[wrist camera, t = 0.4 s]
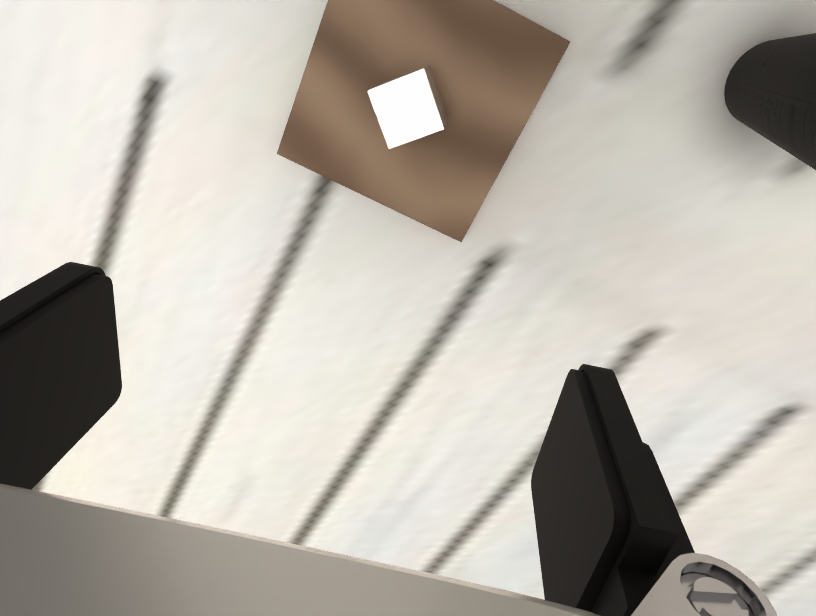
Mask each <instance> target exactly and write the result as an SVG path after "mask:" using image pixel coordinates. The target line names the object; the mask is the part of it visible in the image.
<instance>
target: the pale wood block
mask: <svg viewBox="0 0 816 616" xmlns="http://www.w3.org/2000/svg"><path fill="white" fill-rule="evenodd" d="M368 94H369V96H370V99H371V102H372V105H373V107H374V110H375V113H376V115H377V118H378V121H379V123H380V126H381V129H382V131H383V134H384V137H385V139H386V142H387V145H388V148H389V149H390V148H393V147H396V146H398V145H401V144H404V143H407V142H410V141H412V140H415V139H418V138H421V137H423V136H426V135H429V134H432V133H434V132H437V131H440V130H443V129H444V127H445V124H446V121H447V117H446V114H445V111H444V108H443V104H442V101H441V98H440V95H439V92H438V89H437V86H436V83H435V80H434V76H433V73H432V70H431V67H430V64H429V65H426V66H423V67H421V68H418V69H416V70H413V71H411V72H408V73H406V74H403V75H401V76H398V77H396V78H393V79H391V80H388V81H386V82H383V83H381V84H378V85H377V86H375V87H373V88H371V89H370V90H368Z"/></svg>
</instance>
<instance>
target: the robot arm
mask: <svg viewBox="0 0 816 616" xmlns="http://www.w3.org/2000/svg"><path fill="white" fill-rule="evenodd" d="M121 389H122V380H121V369H120V359H119V348H118V337H117V326H116V316H115V305H114V294H113V284H112V281H111V279H110V278H109V277H108V276H106V275H105V273H104V271H103V270H102V269H101V268H99V267H94V266H89V265H84V264H79V263H74V262H69V263H66V264H64V265H62V266H60V267H59V268H57V269H55V270H53V271H52V272H50V273H48V274H46V275H45V276H43V277H41V278H39V279H37V280H36V281H34V282H32V283H30V284H29V285H27V286H25V287H23V288H22V289H20V290H18V291H16V292H15V293H13V294H11V295H9V296H8V297H6V298H4V299H2V300H1V301H0V616H777V614H776V611H775V609H774V608H773V606H772V604H771V603H770V601H769V599H768V598H767V596H766V595H765V594H764V593H763V592H762V591H761V590H760V588H759V587H758V586H757V585H756V584H755V583H754V582H753V581H752V580H751V579H749V578H748V577H747V576H746V575H744V574H743V573H742V572H741V571H740V570H738V569H736V568H735V567H733V566H731V565H729V564H728V563H726V562H724V561H722V560H720V559H717V558H714V557H712V556H709V555H705V554H698V553H695V552H694V550H693V547H692V545H691V543H690V540H689V538H688V536H687V533H686V531H685V528H684V526H683V524H682V521H681V519H680V516H679V514H678V512H677V509H676V507H675V505H674V502H673V500H672V497H671V495H670V493H669V490H668V488H667V486H666V483H665V481H664V478H663V476H662V474H661V471H660V469H659V466H658V464H657V462H656V459H655V457H654V455H653V452H652V450H651V449H650V447H649V445H647V444H645V443H643V442H642V440H641V437H640V435H639V432H638V430H637V428H636V425H635V423H634V420H633V418H632V415H631V413H630V410H629V408H628V405H627V403H626V400H625V398H624V395H623V393H622V391H621V388H620V386H619V383H618V381H617V378H616V376H615V373H614V372H613V370H611V369H606V368H601V367H596V366H591V365H586V364H583V365H581V367H580V368H579V370H574V369H571V370H570V371H569V373H568V375H567V378H566V380H565V383H564V386H563V389H562V392H561V394H560V397H559V400H558V403H557V405H556V408H555V411H554V414H553V416H552V419H551V422H550V425H549V427H548V430H547V433H546V436H545V439H544V441H543V444H542V447H541V450H540V452H539V455H538V458H537V461H536V463H535V466H534V469H533V473H532V480H531V490H532V498H533V506H534V514H535V522H536V531H537V539H538V547H539V555H540V563H541V571H542V580H543V588H544V596H545V600H542V599H539V598H535V597H531V596H527V595H523V594H519V593H515V592H511V591H507V590H503V589H498V588H493V587H489V586H484V585H479V584H474V583H470V582H466V581H461V580H457V579H453V578H448V577H444V576H440V575H435V574H430V573H426V572H421V571H416V570H412V569H407V568H402V567H398V566H393V565H388V564H384V563H379V562H374V561H370V560H365V559H361V558H356V557H351V556H347V555H342V554H337V553H333V552H328V551H323V550H319V549H314V548H309V547H305V546H300V545H295V544H291V543H286V542H281V541H276V540H272V539H267V538H262V537H257V536H253V535H248V534H243V533H238V532H234V531H229V530H224V529H219V528H214V527H210V526H205V525H200V524H195V523H191V522H186V521H181V520H176V519H171V518H166V517H162V516H157V515H152V514H147V513H142V512H138V511H133V510H128V509H123V508H118V507H113V506H109V505H104V504H99V503H94V502H89V501H84V500H79V499H74V498H69V497H64V496H59V495H54V494H49V493H44V492H40V491H35V490H32V489H33V487H34V486H35V485H36V484H37V483H38V482H39V481H40V480H41V479H42V478H43V477H44V476H45V475H46V474H47V473H48V472H49V471H50V470H51V469H52V468H53V467H54V466H55V465H56V464H57V463H58V462H59V461H60V460H61V459H62V458H63V456H64V455H65V454H66V453H67V452H68V451H69V450H70V449H71V448H72V447H73V446H74V445H75V444H76V443H77V442H78V441H79V440H80V439H81V438H82V437H83V436H84V435H85V434H86V433H87V432H88V431H89V430H90V429H91V428H92V427H93V425H94V424H95V423H96V422H97V421H98V420H99V419H100V418H101V417H102V416H103V415H104V414H105V413H106V412H107V411H108V410H109V409H110V408H111V407H112V406H113V405H114V404H115V403H116V401H117V400H118V398H119V396H120V393H121Z"/></svg>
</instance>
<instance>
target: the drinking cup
mask: <svg viewBox="0 0 816 616" xmlns="http://www.w3.org/2000/svg"><path fill="white" fill-rule="evenodd" d="M725 101H726V105H727V107H728V109H729V111H730V113H731V114H732V115H733V116H734V117H735V118H736V119H737V120H739V121H740V122H742V123H744V124H745V125H747V126H748V127H750V128H751V129H753V130H754V131H756V132H757V133H759V134H761V135H762V136H764V137H765V138H767V139H768V140H770V141H771V142H773V143H775V144H776V145H778V146H779V147H781V148H782V149H784V150H785V151H787V152H789V153H790V154H792V155H793V156H795V157H796V158H798V159H799V160H801V161H803V162H804V163H806V164H807V165H809V166H810V167H812V168H813V169H815V170H816V33H815V34H808V35H802V36H795V37H789V38H783V39H776V40H771V41H767V42H764V43H761V44H759V45H757V46H755V47H753V48H752V49H750V50H749V51H747V52H746V53H745V54H744V55H743V56H742V57H741V58H740V59H739V60H738V61H737V62H736V64H735V65H734V67H733V68H732V70H731V72H730V74H729V76H728V78H727V82H726V86H725Z"/></svg>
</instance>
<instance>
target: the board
mask: <svg viewBox="0 0 816 616" xmlns="http://www.w3.org/2000/svg"><path fill="white" fill-rule="evenodd" d="M569 43H570V41H568V40H566V39H564V38H562V37H561V36H559V35H557V34H555V33H553V32H551V31H549V30H547V29H545V28H544V27H542V26H540V25H538V24H536V23H534V22H532V21H530V20H529V19H527V18H525V17H523V16H521V15H519V14H517V13H515V12H514V11H512V10H510V9H508V8H506V7H504V6H502V5H500V4H499V3H497V2H495V1H493V0H328V2H327V5H326V8H325V11H324V14H323V17H322V20H321V23H320V26H319V29H318V32H317V35H316V38H315V41H314V44H313V47H312V50H311V53H310V56H309V59H308V62H307V65H306V68H305V71H304V74H303V77H302V80H301V83H300V86H299V89H298V92H297V95H296V98H295V101H294V104H293V107H292V110H291V113H290V116H289V119H288V122H287V125H286V128H285V131H284V134H283V137H282V140H281V143H280V146H279V149H278V152H277V154H279V155H281V156H283V157H285V158H287V159H289V160H291V161H293V162H295V163H297V164H299V165H301V166H304V167H306V168H308V169H310V170H312V171H314V172H316V173H318V174H320V175H322V176H324V177H326V178H329V179H331V180H333V181H335V182H337V183H339V184H341V185H343V186H345V187H347V188H349V189H351V190H354V191H356V192H358V193H360V194H362V195H364V196H366V197H368V198H370V199H372V200H374V201H376V202H379V203H381V204H383V205H385V206H387V207H389V208H391V209H393V210H395V211H397V212H399V213H401V214H404V215H406V216H408V217H410V218H412V219H414V220H416V221H418V222H420V223H422V224H424V225H426V226H428V227H431V228H433V229H435V230H437V231H439V232H441V233H443V234H445V235H447V236H449V237H451V238H453V239H456V240H458V241H460V242H462V240H463V238H464V236H465V234H466V233H467V231H468V229H469V227H470V225H471V223H472V222H473V220H474V218H475V216H476V214H477V212H478V211H479V209H480V207H481V205H482V203H483V201H484V199H485V198H486V196H487V194H488V192H489V190H490V188H491V187H492V185H493V183H494V181H495V179H496V177H497V176H498V174H499V172H500V170H501V168H502V166H503V165H504V163H505V161H506V159H507V157H508V155H509V153H510V152H511V150H512V148H513V146H514V144H515V142H516V141H517V139H518V137H519V135H520V133H521V131H522V130H523V128H524V126H525V124H526V122H527V120H528V119H529V117H530V115H531V113H532V111H533V109H534V107H535V106H536V104H537V102H538V100H539V98H540V96H541V95H542V93H543V91H544V89H545V87H546V85H547V84H548V82H549V80H550V78H551V76H552V74H553V73H554V71H555V69H556V67H557V65H558V63H559V61H560V60H561V58H562V56H563V54H564V52H565V50H566V49H567V47H568V45H569ZM429 64H430V67H431V70H432V73H433V76H434V80H435V83H436V86H437V89H438V92H439V95H440V98H441V101H442V104H443V108H444V111H445V114H446V117H447V121H446V124H445V127H444V129H443V130H440V131H437V132H434V133H432V134H429V135H426V136H423V137H421V138H418V139H415V140H412V141H410V142H407V143H404V144H401V145H398V146H396V147H393V148H390V149H389V148H388V145H387V142H386V139H385V137H384V134H383V131H382V129H381V126H380V123H379V121H378V118H377V115H376V113H375V110H374V107H373V105H372V102H371V99H370V96H369V94H368V90H370V89H371V88H373V87H375V86H377V85H378V84H381V83H383V82H386V81H388V80H391V79H393V78H396V77H398V76H401V75H403V74H406V73H408V72H411V71H413V70H416V69H418V68H421V67H423V66H426V65H429Z"/></svg>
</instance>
